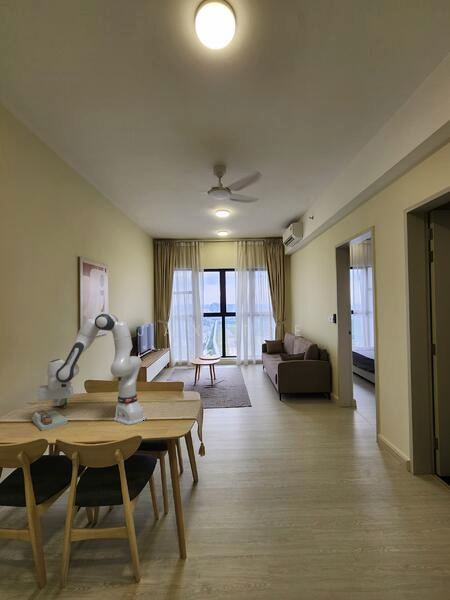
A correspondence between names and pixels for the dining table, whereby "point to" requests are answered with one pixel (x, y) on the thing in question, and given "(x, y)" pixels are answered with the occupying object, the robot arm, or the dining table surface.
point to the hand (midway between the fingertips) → (56, 405)
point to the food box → (56, 420)
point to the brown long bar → (45, 417)
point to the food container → (61, 403)
